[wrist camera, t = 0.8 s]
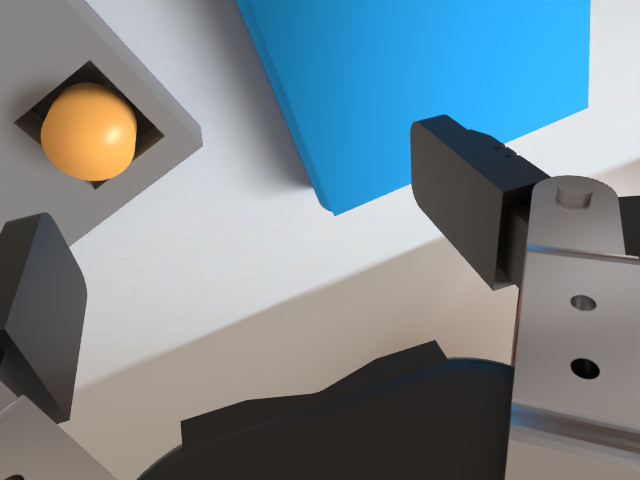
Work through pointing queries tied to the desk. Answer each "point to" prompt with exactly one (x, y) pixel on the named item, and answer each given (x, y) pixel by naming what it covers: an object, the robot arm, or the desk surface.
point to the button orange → (90, 132)
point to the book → (413, 77)
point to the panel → (25, 124)
